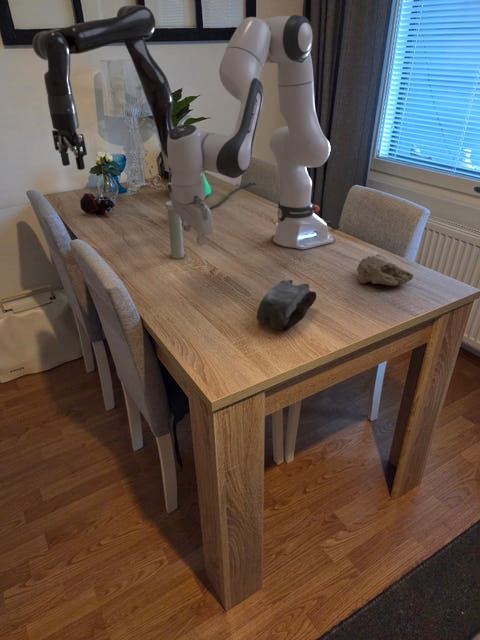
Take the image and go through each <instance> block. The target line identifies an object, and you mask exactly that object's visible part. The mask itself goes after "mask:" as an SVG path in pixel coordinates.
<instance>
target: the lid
mask: <svg viewBox="0 0 480 640" xmlns="http://www.w3.org/2000/svg"><path fill="white" fill-rule="evenodd" d="M165 209H166V210H167V211H168V210H173V207H172V203H171V200H169V201H165Z"/></svg>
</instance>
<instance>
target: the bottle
mask: <svg viewBox="0 0 480 640" xmlns="http://www.w3.org/2000/svg"><path fill="white" fill-rule="evenodd" d="M167 217H168V218H167V219H168V220H167V221H168V230H169V242H170V251H171V252H170V254H171V255H170V256H171V258H172V259H175V260H178V259H183V258H184V257H185V253H184V251H185V250H184V237H183V227H182V226H183V224H182V221H181V218H180V217H179V216H178V215H177V214H176V213H175V212H174V210H167Z"/></svg>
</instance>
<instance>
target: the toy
mask: <svg viewBox="0 0 480 640" xmlns="http://www.w3.org/2000/svg"><path fill="white" fill-rule="evenodd" d="M101 196H102V193H101V192H97V193H96V194H95V195H94V194H93V193H91V192H90V193H84V195H83V196H82V197H81V198H80V200H79V201H80V203H79V204H80V209H81V210H82V211H83V212H84V213H85V214H88V215H92V216H98V217H106V218H109V216H108V215H107V213H108V214H113V213H114V212H115V209H114V207H115V206H116V204H117V201H116V200H115V199H114V198H113V197H111V196H110V197H107V196H102V197H101Z"/></svg>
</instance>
